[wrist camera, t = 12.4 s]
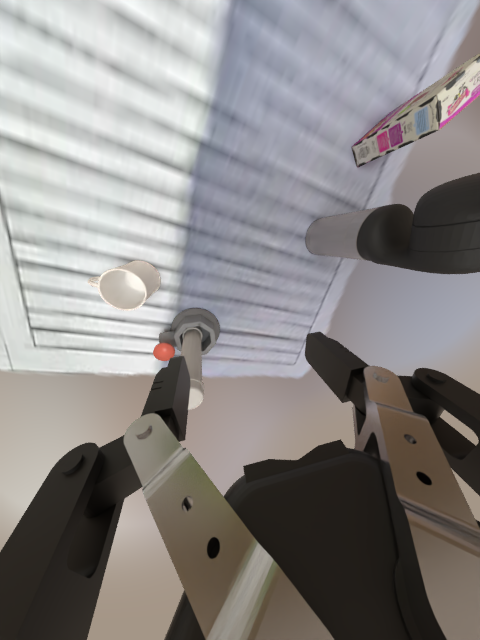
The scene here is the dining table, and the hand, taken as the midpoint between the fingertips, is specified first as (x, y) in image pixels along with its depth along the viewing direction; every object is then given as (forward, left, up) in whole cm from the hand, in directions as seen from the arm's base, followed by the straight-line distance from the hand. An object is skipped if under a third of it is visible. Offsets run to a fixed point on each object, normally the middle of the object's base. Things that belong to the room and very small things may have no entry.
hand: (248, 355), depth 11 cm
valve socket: (+8, +17, -38) cm, 43 cm away
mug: (+19, 0, -39) cm, 43 cm away
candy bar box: (-42, -26, -39) cm, 63 cm away
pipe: (+8, +17, -38) cm, 42 cm away
